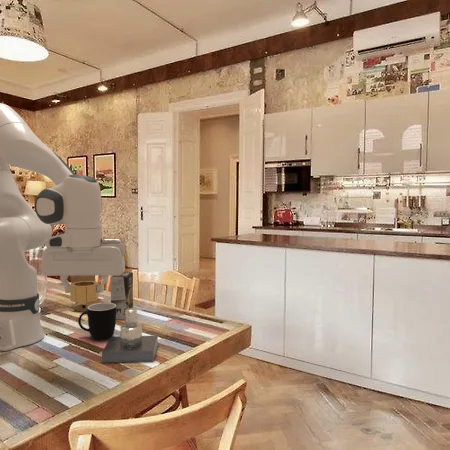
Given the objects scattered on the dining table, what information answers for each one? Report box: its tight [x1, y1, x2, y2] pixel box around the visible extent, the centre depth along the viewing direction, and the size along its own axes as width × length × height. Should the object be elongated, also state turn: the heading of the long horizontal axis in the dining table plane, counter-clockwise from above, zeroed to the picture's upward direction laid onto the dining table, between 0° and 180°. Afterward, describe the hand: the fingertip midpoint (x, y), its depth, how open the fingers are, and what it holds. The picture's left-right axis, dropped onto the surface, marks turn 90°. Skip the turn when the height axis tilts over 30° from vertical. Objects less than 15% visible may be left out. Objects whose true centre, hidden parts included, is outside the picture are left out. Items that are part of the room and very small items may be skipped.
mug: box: [77, 302, 117, 341], centre depth 127 cm, size 12×9×10 cm
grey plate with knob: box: [101, 307, 159, 364], centre depth 114 cm, size 14×12×13 cm
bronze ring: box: [69, 281, 100, 303], centre depth 101 cm, size 6×6×4 cm
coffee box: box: [110, 271, 134, 321], centre depth 149 cm, size 9×6×16 cm
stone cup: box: [70, 275, 103, 313], centre depth 159 cm, size 15×12×15 cm
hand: (84, 292), depth 101 cm, fingers closed on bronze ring, 6 cm apart
